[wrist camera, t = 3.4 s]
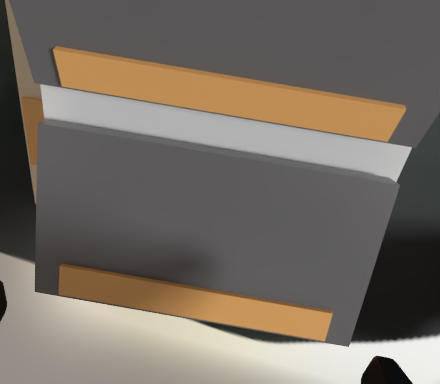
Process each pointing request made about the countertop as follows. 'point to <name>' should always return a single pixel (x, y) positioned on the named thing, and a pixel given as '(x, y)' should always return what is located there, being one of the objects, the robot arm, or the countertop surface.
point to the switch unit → (191, 126)
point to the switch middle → (250, 59)
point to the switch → (206, 231)
